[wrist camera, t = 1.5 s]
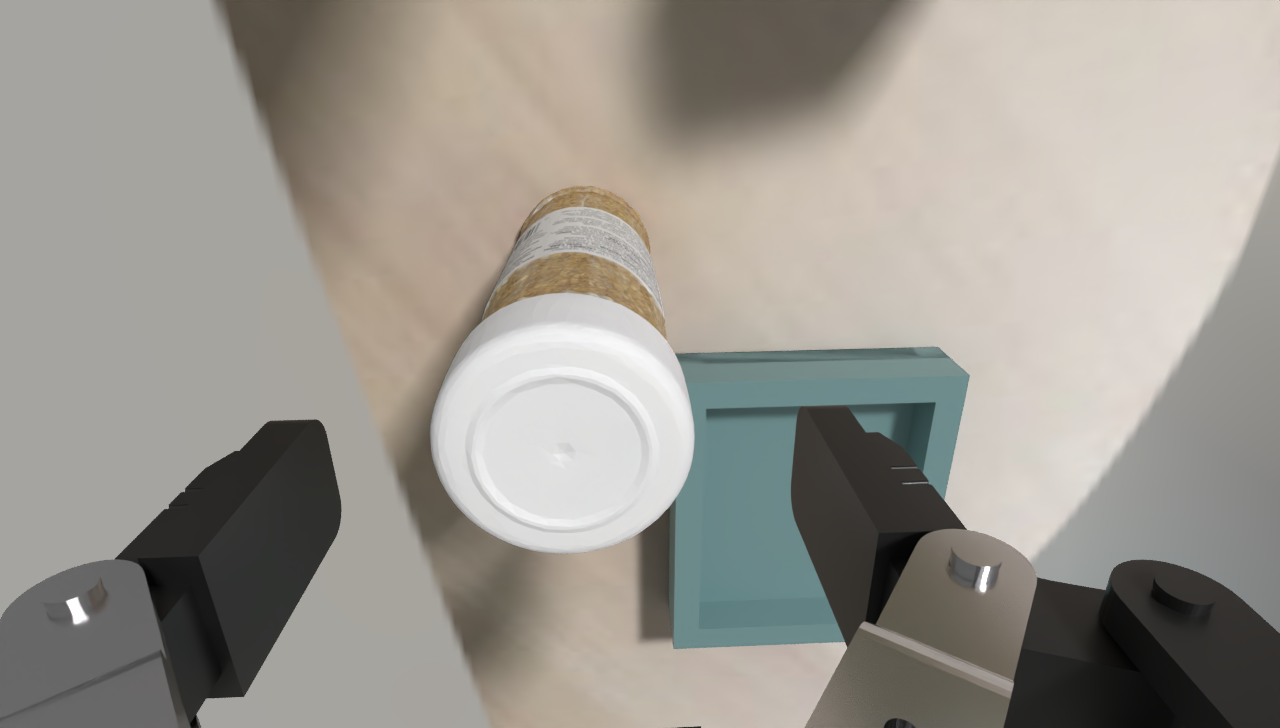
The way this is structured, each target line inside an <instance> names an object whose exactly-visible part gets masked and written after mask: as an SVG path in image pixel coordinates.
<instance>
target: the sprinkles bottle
mask: <svg viewBox="0 0 1280 728" xmlns="http://www.w3.org/2000/svg"><path fill="white" fill-rule="evenodd" d="M664 324H665V316H664V311H663V306H662V302H661V296H660V292H659V288H658V284H657V280H656V275H655V271H654V266H653V262H652V259H651V256H650V245H649V239H648V235H647V232H646V229H645V228H644V225H643V223H642V222H641V219H640V217H639V215H638V214H637V212H636V211H635V210H634V209H633V208H631V207H630V206H629V205H628V204H627V203H626V202H625V201H624V200H623V199H621V198H620V197H618V196H616V195H615V194H613V193H611V192H609V191H606V190H603V189H600V188H596V187H593V186H590V187H571V188H567V189H563V190H560V191H558V192H556V193H553V194H551V195H550V196H548V197H546V198H545V199H543V200H542V201H541V202H540V203H539V204H538V205H537V207H536V208H534V209H533V210H532V212H531V213H530V215H529V217H528V218H527V219H526V221H525V222H524V224H523V227H522V229H521V233H520V238H519V240H518V241H517V243H516V245H515V246H514V248H513V251H512V253H511V255H510V257H509V259H508V261H507V263H506V265H505V267H504V270H503V272H502V274H501V276H500V278H499V280H498V282H497V284H496V286H495V288H494V291H493V293H492V295H491V297H490V299H489V301H488V303H487V305H486V308H485V311H484V314H483V318H482V322H481V323H480V324H479V325H478V326H477V327H476V328H475V329H474V330H473V331H472V332H471V333H470V334H469V336H468V337H467V338H466V339H465V341H464V342H463V343H462V345H461V347H460V348H459V350H458V352H457V353H456V355H455V357H454V359H453V361H452V363H451V365H450V368H449V370H448V372H447V374H446V376H445V378H444V381H443V384H442V386H441V389H440V391H439V394H438V397H437V399H436V402H435V405H434V409H433V413H432V418H431V425H430V441H431V454H432V458H433V462H434V465H435V468H436V471H437V474H438V477H439V479H440V482H441V483H442V485H443V487H444V489H445V490H446V492H447V494H448V496H449V497H450V498H451V500H452V501H453V502H454V504H455V505H456V506H457V507H458V508H459V509H460V511H461V512H462V513H463V514H464V515H465V516H466V517H467V518H469V519H470V520H471V521H472V522H473V523H475V524H476V525H477V526H478V527H480V528H481V529H483V530H484V531H486V532H487V533H489V534H491V535H493V536H494V537H496V538H498V539H500V540H503V541H505V542H507V543H510V544H512V545H515V546H518V547H521V548H525V549H528V550H532V551H538V552H544V553H553V554H569V553H583V552H589V551H594V550H599V549H603V548H606V547H609V546H612V545H615V544H617V543H620V542H622V541H625V540H627V539H629V538H631V537H633V536H635V535H636V534H638V533H640V532H642V531H643V530H644V529H646V528H647V527H648V526H649V525H651V524H652V523H653V522H655V521H656V520H657V519H658V518H659V517H660V516H661V515H662V514H663V513H664V512H665V511H666V510H667V509H668V508H669V507H670V505H671V504H672V503H673V501H674V500H675V498H676V497H677V496H678V494H679V492H680V491H681V489H682V487H683V485H684V483H685V481H686V479H687V476H688V473H689V471H690V467H691V464H692V459H693V452H694V439H695V435H694V421H693V416H692V410H691V404H690V399H689V395H688V390H687V386H686V382H685V378H684V375H683V372H682V368H681V366H680V364H679V361H678V359H677V357H676V355H675V353H674V352H673V350H672V349H671V347H670V345H669V344H668V342H667V340H666V331H665V326H664Z"/></svg>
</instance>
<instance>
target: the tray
mask: <svg viewBox="0 0 1280 728" xmlns="http://www.w3.org/2000/svg"><path fill="white" fill-rule="evenodd" d="M675 355H676V357H677V359H678V361H679V364H680V366H681V368H682V372H683V375H684V378H685V382H686V386H687V390H688V395H689V399H690V404H691V410H692V416H693V421H694V435H695V439H694V452H693V459H692V464H691V467H690V471H689V473H688V476H687V479H686V481H685V483H684V485H683V487H682V489H681V491H680V492H679V494H678V496H677V497H676V498H675V500H674V501H673V503H672V504H671V505H670V520H669V612H670V621H671V630H672V639H673V647H674V649H683V648H707V647H731V646H756V645H780V644H804V643H828V642H845V640H844V638H843V636H842V633H841V631H840V628H839V626H838V624H837V621H836V619H835V616H834V614H833V611H832V609H831V607H830V604H829V602H828V599H827V597H826V595H825V592H824V590H823V587H822V585H821V583H820V580H819V578H818V575H817V573H816V570H815V568H814V566H813V563H812V561H811V558H810V556H809V554H808V551H807V549H806V546H805V544H804V541H803V539H802V537H801V534H800V532H799V529H798V527H797V525H796V522H795V519H794V515H793V511H792V504H791V477H792V466H793V454H794V443H795V432H796V421H797V415H798V411H799V409H800V407H801V406H821V405H846V406H847V407H848V408H849V409H850V411H851V412H852V414H853V415H854V416H855V418H856V419H857V421H858V422H859V423H860V425H861V426H862V428H863V429H864V430H865V432H879V433H881V434H882V435H884V436H886V437H887V438H889V439H890V440H892V441H894V442H895V443H897V444H898V445H900V446H902V447H903V448H904V449H905V451H906V452H907V453H908V455H909V456H910V457H911V458H912V460H913V461H914V462H915V464H916V465H917V469H920V470H921V471H922V473H923V474H924V475H925V476H926V478H927V479H928V480H929V485H930V484H932V485H933V487H934V488H935V489H936V491H937V492H938V493H939V494H940V496H941V497H942V498H943V500H944V498H945V493H946V488H947V484H948V479H949V474H950V469H951V464H952V459H953V454H954V450H955V445H956V440H957V435H958V430H959V425H960V420H961V415H962V411H963V406H964V401H965V396H966V391H967V386H968V381H969V377H970V375H969V374H968V373H967V372H965V371H964V370H963V369H962V368H961V367H960V366H959V365H958V364H956V363H955V362H954V361H953V360H952V359H951V358H950V357H949V356H947V355H946V354H945V353H944V352H943V351H942V350H941V349H940V348H938V347H917V348H879V349H840V350H801V351H763V352H724V353H686V354H675Z"/></svg>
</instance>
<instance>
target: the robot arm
mask: <svg viewBox="0 0 1280 728" xmlns="http://www.w3.org/2000/svg"><path fill="white" fill-rule="evenodd" d="M791 504H792V511H793V515H794V519H795V522H796V525H797V527H798V529H799V532H800V534H801V537H802V539H803V541H804V544H805V546H806V549H807V551H808V554H809V556H810V558H811V561H812V563H813V566H814V568H815V570H816V573H817V575H818V578H819V580H820V583H821V585H822V587H823V590H824V592H825V595H826V597H827V599H828V602H829V604H830V607H831V609H832V611H833V614H834V616H835V619H836V621H837V624H838V626H839V628H840V631H841V633H842V636H843V638H844V640H845V643H846V645H847V650H846V652H845V654H844V656H843V657H842V659H841V661H840V663H839V665H838V667H837V669H836V670H835V672H834V674H833V676H832V678H831V680H830V682H829V683H828V685H827V687H826V689H825V691H824V693H823V695H822V696H821V698H820V700H819V702H818V704H817V706H816V708H815V709H814V711H813V713H812V715H811V717H810V719H809V721H808V723H807V724H806V726H805V728H1280V633H1278V632H1277V631H1276V630H1275V629H1274V628H1273V627H1272V626H1271V625H1269V623H1267V622H1266V621H1265V620H1264V619H1263V618H1262V617H1261V616H1260V615H1259V614H1257V613H1256V612H1255V611H1254V610H1253V609H1252V608H1251V607H1250V606H1249V605H1248V604H1246V603H1245V602H1244V601H1243V600H1242V599H1241V598H1240V597H1238V596H1237V595H1236V594H1235V593H1233V592H1232V591H1230V590H1229V589H1228V588H1226V587H1225V586H1223V585H1222V584H1220V583H1218V582H1216V581H1214V580H1213V579H1211V578H1209V577H1207V576H1204V575H1202V574H1200V573H1198V572H1195V571H1193V570H1190V569H1187V568H1184V567H1181V566H1178V565H1174V564H1170V563H1166V562H1161V561H1153V560H1132V561H1127V562H1123V563H1121V564H1119V565H1117V566H1116V567H1115V568H1114V569H1113V571H1112V573H1111V575H1110V578H1109V581H1108V584H1107V587H1106V590H1101V589H1095V588H1089V587H1084V586H1078V585H1072V584H1067V583H1061V582H1055V581H1050V580H1046V579H1041V578H1038V577H1037V576H1036V572H1035V570H1034V568H1033V566H1032V565H1031V563H1030V562H1029V561H1028V560H1027V558H1025V557H1024V556H1023V555H1022V554H1021V553H1020V552H1019V551H1017V550H1016V549H1015V548H1013V547H1012V546H1010V545H1008V544H1006V543H1005V542H1003V541H1001V540H998V539H996V538H994V537H991V536H989V535H986V534H982V533H979V532H975V531H969V530H967V529H966V528H965V527H964V525H963V524H962V523H961V521H960V520H959V519H958V518H957V516H956V515H955V514H954V512H953V511H952V510H951V509H950V507H949V506H948V505H947V503H946V502H945V501H944V500H943V498H942V497H941V496H940V494H939V493H938V492H937V491H936V489H935V488H934V487H933V485H932V484H930V485H929V480H928V479H927V478H926V476H925V475H924V474H923V473H922V471H921V470H920V469H917V465H916V464H915V462H914V461H913V460H912V458H911V457H910V456H909V455H908V453H907V452H906V451H905V449H904V448H903V447H902V446H900V445H898V444H897V443H895V442H894V441H892V440H890V439H889V438H887V437H886V436H884V435H882V434H881V433H879V432H865V430H864V429H863V428H862V426H861V425H860V423H859V422H858V421H857V419H856V418H855V416H854V415H853V414H852V412H851V411H850V409H849V408H848V407H847V406H846V405H821V406H801V407H800V409H799V411H798V415H797V421H796V432H795V443H794V454H793V466H792V477H791ZM340 519H341V500H340V495H339V490H338V485H337V480H336V476H335V471H334V466H333V462H332V458H331V453H330V448H329V443H328V439H327V434H326V431H325V428H324V426H323V424H322V423H321V422H320V421H319V420H284V421H269V422H267V423H266V424H265V425H264V426H263V427H262V428H261V429H260V430H259V431H258V432H257V433H256V434H255V435H254V436H253V437H252V439H250V441H249V442H248V443H247V444H246V445H245V446H244V447H243V448H242V449H241V450H240V451H234V452H233V453H231V454H229V455H227V456H226V457H224V458H222V459H221V460H219V461H217V462H215V463H214V464H212V465H210V466H209V467H207V468H205V469H204V470H203V471H202V472H201V473H200V474H199V475H198V476H197V477H196V478H195V479H194V480H193V481H192V482H191V483H190V484H189V485H188V486H187V487H186V488H185V492H182V493H180V494H179V495H178V496H177V497H176V498H175V499H174V500H173V501H172V502H171V503H170V504H169V509H164V510H163V511H162V512H161V513H160V514H159V515H158V516H157V517H156V518H155V519H154V520H153V521H152V522H151V523H150V524H149V525H148V526H147V527H146V528H145V529H144V530H143V531H142V532H141V533H140V534H139V535H138V536H137V537H136V538H135V540H133V541H132V542H131V543H130V544H129V545H128V546H127V547H126V548H125V549H124V550H123V551H122V552H121V553H120V554H119V555H118V556H117V557H116V558H115V559H114V560H104V561H98V562H92V563H88V564H84V565H81V566H77V567H74V568H71V569H68V570H66V571H63V572H60V573H58V574H56V575H54V576H52V577H50V578H47V579H46V580H44V581H42V582H40V583H38V584H36V585H35V586H33V587H32V588H30V589H29V590H27V591H26V592H24V593H23V594H22V595H21V596H19V597H18V598H17V599H16V600H15V601H14V602H13V603H12V604H11V605H10V606H9V607H8V608H7V609H6V611H5V612H4V614H3V615H2V617H1V619H0V728H201V726H200V723H199V720H198V718H197V715H196V714H197V712H198V710H199V709H200V707H201V706H202V704H203V702H204V701H205V699H206V698H226V697H244V695H245V694H246V692H247V691H248V689H249V687H250V685H251V684H252V682H253V680H254V678H255V677H256V675H257V673H258V671H259V670H260V668H261V666H262V665H263V663H264V661H265V659H266V658H267V656H268V654H269V652H270V651H271V649H272V647H273V645H274V644H275V642H276V640H277V638H278V637H279V635H280V633H281V631H282V630H283V628H284V626H285V625H286V623H287V621H288V619H289V617H290V616H291V614H292V612H293V610H294V609H295V607H296V605H297V604H298V602H299V600H300V598H301V597H302V595H303V593H304V591H305V590H306V588H307V586H308V584H309V583H310V581H311V579H312V578H313V576H314V574H315V572H316V571H317V569H318V567H319V565H320V563H321V562H322V560H323V558H324V557H325V555H326V553H327V551H328V550H329V548H330V546H331V544H332V543H333V541H334V539H335V537H336V535H337V533H338V530H339V526H340ZM679 728H701V726H700V727H679Z"/></svg>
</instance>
